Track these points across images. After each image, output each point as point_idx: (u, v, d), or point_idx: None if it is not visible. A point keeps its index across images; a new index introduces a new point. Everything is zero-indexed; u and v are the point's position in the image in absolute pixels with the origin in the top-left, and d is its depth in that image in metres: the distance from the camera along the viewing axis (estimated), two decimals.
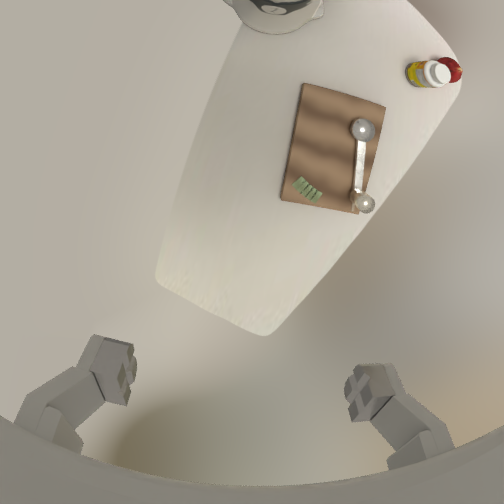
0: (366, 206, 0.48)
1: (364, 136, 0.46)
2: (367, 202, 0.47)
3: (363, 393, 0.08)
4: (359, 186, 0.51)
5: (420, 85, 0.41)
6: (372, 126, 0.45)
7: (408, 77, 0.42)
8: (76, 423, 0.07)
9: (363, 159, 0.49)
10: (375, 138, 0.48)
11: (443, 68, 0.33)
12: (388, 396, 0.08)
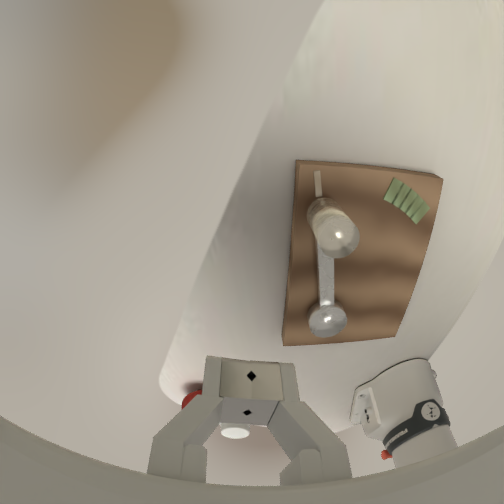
0: (340, 236, 0.21)
1: (328, 317, 0.30)
2: (340, 245, 0.21)
3: None
4: None
5: None
6: (315, 332, 0.32)
7: None
8: None
9: (321, 280, 0.29)
10: (294, 306, 0.33)
11: (236, 436, 0.34)
12: (274, 400, 0.08)
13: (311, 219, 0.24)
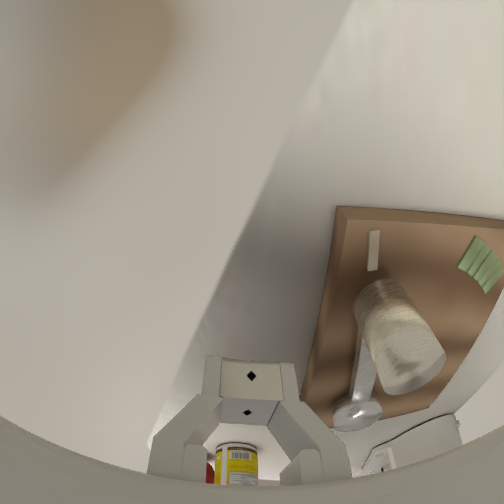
0: (418, 369, 0.10)
1: (359, 414, 0.20)
2: (412, 380, 0.10)
3: None
4: None
5: (238, 463, 0.27)
6: (340, 428, 0.21)
7: (253, 451, 0.30)
8: None
9: (358, 379, 0.18)
10: (315, 398, 0.22)
11: None
12: (274, 400, 0.08)
13: (365, 324, 0.13)
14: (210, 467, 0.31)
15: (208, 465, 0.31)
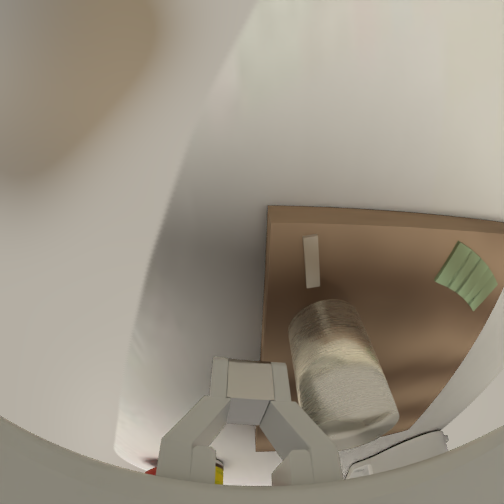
0: (356, 429, 0.07)
1: None
2: (350, 439, 0.08)
3: None
4: None
5: None
6: None
7: (218, 466, 0.27)
8: None
9: None
10: None
11: None
12: (265, 400, 0.08)
13: (295, 358, 0.10)
14: None
15: None
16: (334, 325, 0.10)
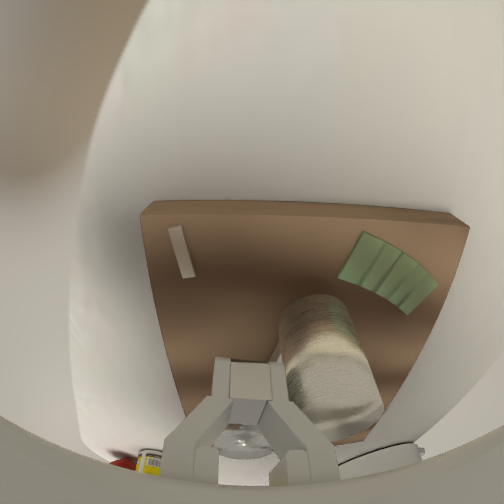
0: (343, 419, 0.08)
1: (245, 444, 0.17)
2: (330, 430, 0.08)
3: None
4: None
5: (153, 471, 0.24)
6: (219, 451, 0.18)
7: None
8: None
9: None
10: None
11: None
12: (262, 400, 0.07)
13: (290, 339, 0.10)
14: None
15: (135, 469, 0.28)
16: (336, 318, 0.10)
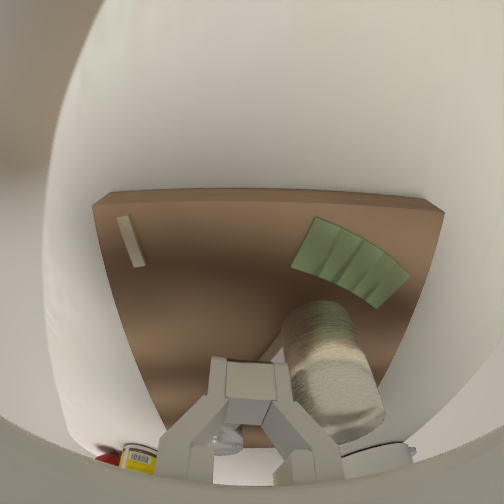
0: (346, 425, 0.08)
1: (217, 440, 0.17)
2: (330, 435, 0.08)
3: None
4: None
5: (135, 465, 0.24)
6: None
7: (155, 456, 0.27)
8: None
9: None
10: (166, 410, 0.19)
11: None
12: (267, 400, 0.08)
13: (299, 341, 0.10)
14: None
15: None
16: (345, 326, 0.10)
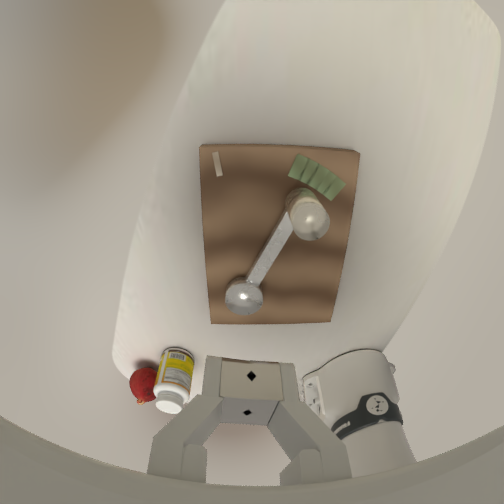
0: (313, 221, 0.23)
1: (247, 294, 0.33)
2: (308, 228, 0.24)
3: None
4: (289, 217, 0.29)
5: (174, 361, 0.40)
6: (228, 301, 0.33)
7: (189, 356, 0.43)
8: None
9: (262, 257, 0.31)
10: (213, 283, 0.35)
11: (171, 411, 0.36)
12: (274, 400, 0.08)
13: (293, 197, 0.26)
14: None
15: (156, 373, 0.44)
16: (312, 194, 0.26)
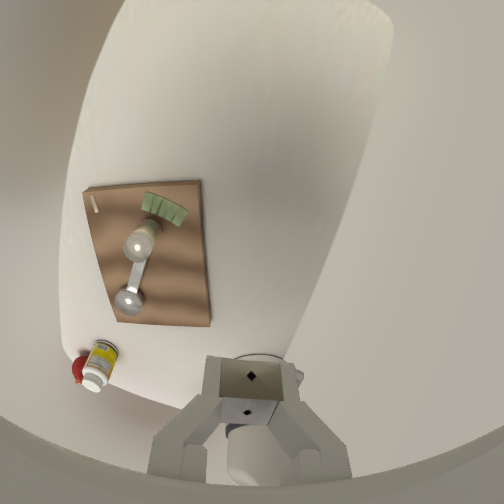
0: (137, 248, 0.30)
1: (127, 299, 0.39)
2: (134, 253, 0.30)
3: None
4: None
5: (98, 351, 0.47)
6: (116, 305, 0.40)
7: (111, 348, 0.49)
8: None
9: (132, 272, 0.38)
10: (110, 290, 0.41)
11: (93, 389, 0.42)
12: (274, 400, 0.08)
13: None
14: None
15: None
16: (149, 225, 0.33)
